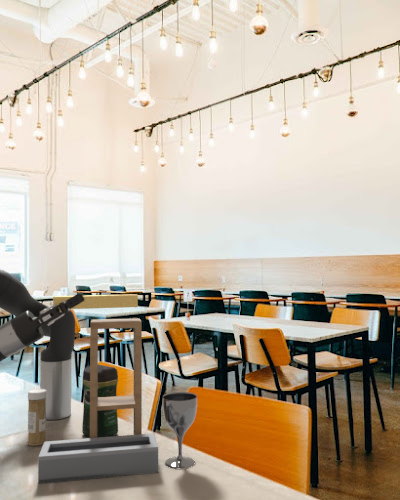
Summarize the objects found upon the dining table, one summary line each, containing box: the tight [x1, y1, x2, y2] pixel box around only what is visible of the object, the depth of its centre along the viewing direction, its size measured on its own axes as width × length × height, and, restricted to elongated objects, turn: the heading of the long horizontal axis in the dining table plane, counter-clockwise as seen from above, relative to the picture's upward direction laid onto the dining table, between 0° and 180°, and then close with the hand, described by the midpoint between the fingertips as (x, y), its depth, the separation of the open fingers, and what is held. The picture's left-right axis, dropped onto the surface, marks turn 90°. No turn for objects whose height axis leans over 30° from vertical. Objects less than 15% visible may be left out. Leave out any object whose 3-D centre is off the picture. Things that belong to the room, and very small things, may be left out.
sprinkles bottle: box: [27, 388, 47, 447], centre depth 117 cm, size 5×5×14 cm
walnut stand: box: [89, 317, 143, 438], centre depth 110 cm, size 8×12×32 cm, turn 101°
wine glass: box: [162, 391, 198, 470], centre depth 104 cm, size 8×8×15 cm
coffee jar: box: [81, 364, 119, 438], centre depth 123 cm, size 10×8×19 cm
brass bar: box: [52, 293, 139, 310], centre depth 110 cm, size 3×20×3 cm, turn 101°
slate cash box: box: [37, 432, 159, 485], centre depth 100 cm, size 9×25×6 cm, turn 101°
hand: (82, 296), depth 110 cm, fingers closed on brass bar, 3 cm apart
